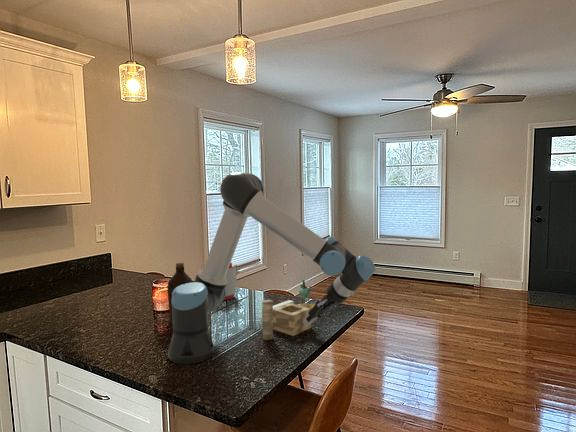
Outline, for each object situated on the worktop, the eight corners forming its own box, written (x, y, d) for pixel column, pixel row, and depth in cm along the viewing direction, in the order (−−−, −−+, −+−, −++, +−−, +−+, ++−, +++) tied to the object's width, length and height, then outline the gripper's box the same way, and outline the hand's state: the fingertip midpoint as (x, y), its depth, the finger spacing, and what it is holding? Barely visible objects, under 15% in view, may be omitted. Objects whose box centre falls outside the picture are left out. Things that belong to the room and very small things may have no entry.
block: (293, 335, 147) (293, 315, 146) (272, 329, 154) (272, 309, 153) (311, 327, 155) (310, 308, 154) (290, 321, 162) (290, 302, 162)
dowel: (267, 340, 142) (267, 303, 141) (260, 338, 145) (259, 301, 144) (275, 337, 145) (274, 301, 144) (267, 334, 148) (267, 299, 147)
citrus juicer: (245, 298, 196) (245, 259, 195) (214, 304, 187) (213, 263, 185) (232, 291, 209) (231, 254, 208) (201, 296, 200) (200, 258, 198)
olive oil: (190, 326, 158) (189, 265, 156) (165, 326, 158) (163, 266, 156) (197, 317, 169) (195, 260, 167) (173, 317, 169) (171, 261, 167)
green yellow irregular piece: (282, 312, 175) (283, 279, 175) (307, 307, 188) (308, 276, 188) (298, 316, 168) (300, 282, 169) (322, 311, 182) (324, 279, 182)
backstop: (268, 327, 156) (268, 310, 156) (264, 325, 158) (263, 308, 157) (294, 316, 168) (293, 301, 168) (289, 315, 170) (289, 300, 169)
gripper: (336, 302, 131) (299, 337, 144) (357, 293, 141) (320, 327, 153) (324, 284, 134) (288, 320, 147) (344, 277, 144) (309, 311, 156)
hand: (304, 323), depth 150 cm, fingers closed
